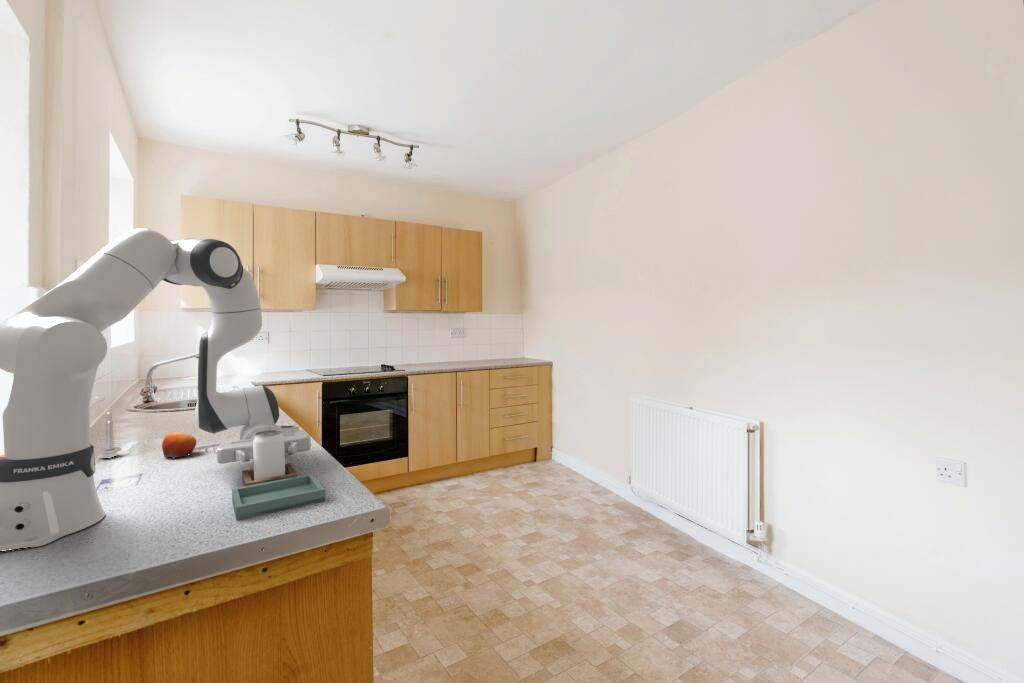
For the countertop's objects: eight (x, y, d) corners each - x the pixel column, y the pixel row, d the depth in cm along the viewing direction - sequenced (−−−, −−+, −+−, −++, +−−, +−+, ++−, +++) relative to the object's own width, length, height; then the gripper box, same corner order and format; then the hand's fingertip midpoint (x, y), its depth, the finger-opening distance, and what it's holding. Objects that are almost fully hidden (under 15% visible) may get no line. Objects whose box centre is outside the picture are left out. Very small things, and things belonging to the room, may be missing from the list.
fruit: (147, 456, 123) (161, 428, 127) (171, 463, 130) (184, 436, 134) (170, 458, 121) (184, 429, 125) (194, 465, 128) (206, 437, 132)
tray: (236, 520, 86) (236, 507, 86) (232, 500, 96) (231, 488, 95) (325, 500, 95) (324, 489, 95) (312, 484, 105) (312, 473, 105)
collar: (246, 494, 99) (246, 483, 99) (242, 481, 107) (242, 471, 107) (298, 484, 105) (298, 474, 105) (290, 472, 113) (290, 463, 113)
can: (272, 489, 102) (270, 436, 102) (247, 487, 103) (246, 435, 103) (291, 479, 108) (290, 430, 108) (268, 477, 110) (266, 429, 109)
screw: (120, 458, 127) (97, 461, 124) (122, 454, 130) (100, 457, 128) (118, 412, 126) (95, 414, 123) (120, 409, 130) (98, 411, 127)
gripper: (213, 435, 110) (215, 448, 99) (304, 424, 122) (315, 434, 111) (214, 461, 110) (216, 476, 99) (304, 447, 122) (315, 460, 111)
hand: (269, 454), depth 105 cm, fingers open, 8 cm apart
